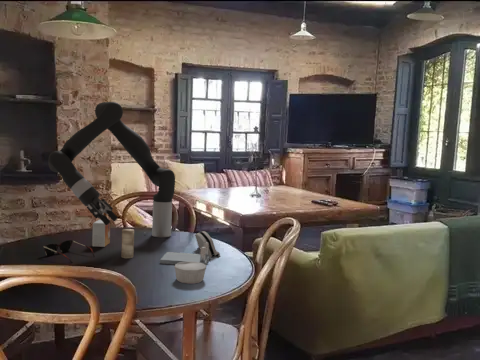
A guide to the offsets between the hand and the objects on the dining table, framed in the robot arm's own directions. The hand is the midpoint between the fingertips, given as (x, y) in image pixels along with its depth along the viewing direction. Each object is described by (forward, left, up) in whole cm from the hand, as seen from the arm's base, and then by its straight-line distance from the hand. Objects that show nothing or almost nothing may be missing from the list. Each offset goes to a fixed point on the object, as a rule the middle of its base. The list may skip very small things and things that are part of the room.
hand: (112, 221), depth 188 cm
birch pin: (0, +7, -14) cm, 16 cm away
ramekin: (+23, +37, -14) cm, 46 cm away
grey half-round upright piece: (-16, +37, -14) cm, 42 cm away
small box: (-16, -10, -14) cm, 24 cm away
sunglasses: (+5, -15, -15) cm, 22 cm away
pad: (0, +31, -14) cm, 34 cm away
